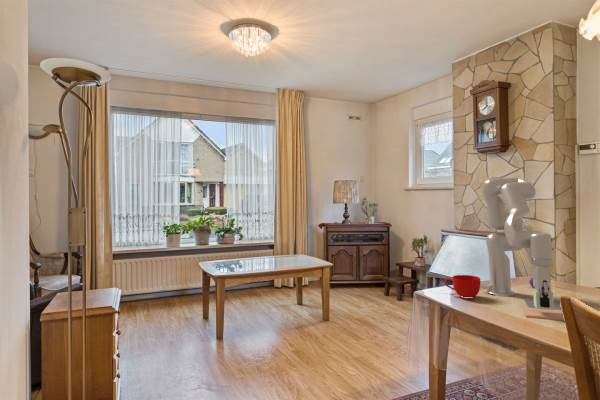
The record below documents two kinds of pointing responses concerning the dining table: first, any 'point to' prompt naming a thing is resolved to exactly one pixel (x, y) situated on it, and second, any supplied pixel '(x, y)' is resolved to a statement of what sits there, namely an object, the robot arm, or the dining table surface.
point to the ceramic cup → (465, 285)
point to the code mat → (531, 305)
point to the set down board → (543, 314)
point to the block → (537, 300)
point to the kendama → (531, 282)
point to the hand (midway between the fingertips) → (543, 304)
